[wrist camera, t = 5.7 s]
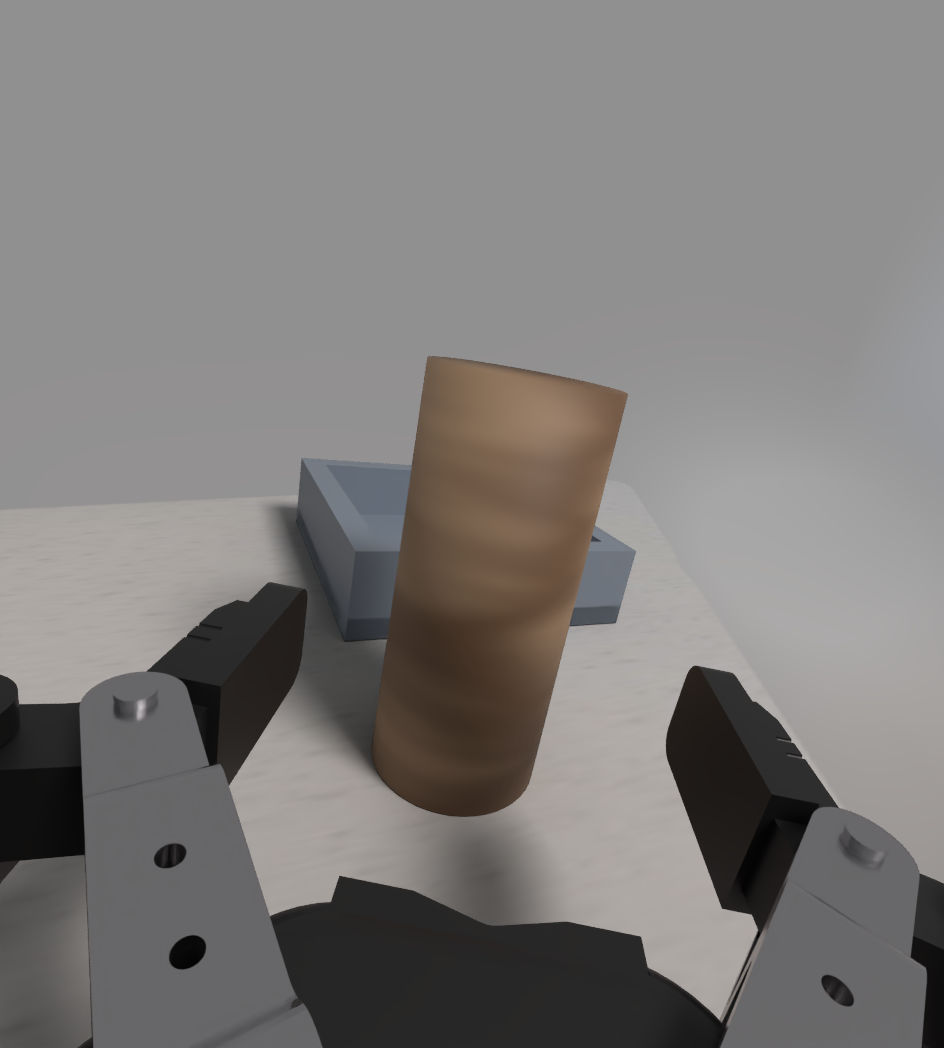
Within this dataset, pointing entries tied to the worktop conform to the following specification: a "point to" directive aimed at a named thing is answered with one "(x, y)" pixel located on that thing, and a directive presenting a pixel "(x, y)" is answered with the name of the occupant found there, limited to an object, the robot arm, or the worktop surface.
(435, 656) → the canister
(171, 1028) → the robot arm
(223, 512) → the worktop surface
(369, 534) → the tray
